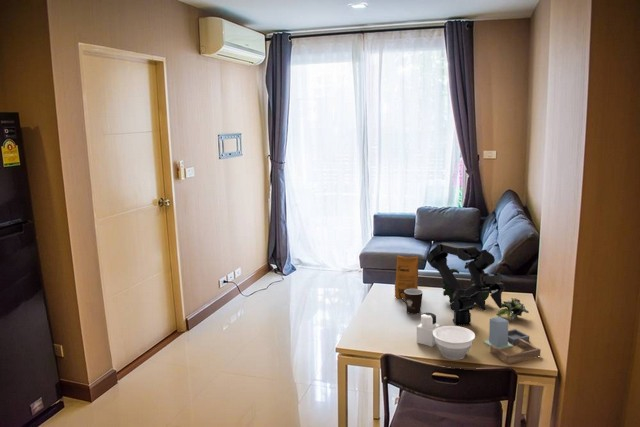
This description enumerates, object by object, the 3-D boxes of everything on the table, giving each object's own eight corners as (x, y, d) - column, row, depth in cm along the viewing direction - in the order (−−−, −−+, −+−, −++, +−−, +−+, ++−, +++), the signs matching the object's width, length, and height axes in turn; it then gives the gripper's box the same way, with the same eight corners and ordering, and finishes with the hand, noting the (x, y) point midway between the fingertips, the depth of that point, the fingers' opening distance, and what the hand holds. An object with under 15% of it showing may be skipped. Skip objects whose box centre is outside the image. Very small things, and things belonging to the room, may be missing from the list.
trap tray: (499, 336, 206) (500, 332, 205) (515, 333, 208) (515, 328, 208) (513, 344, 198) (513, 339, 198) (529, 341, 201) (529, 336, 200)
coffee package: (397, 292, 264) (396, 252, 260) (420, 295, 259) (420, 254, 255) (392, 298, 255) (392, 257, 251) (416, 301, 250) (416, 259, 246)
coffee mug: (426, 313, 234) (426, 292, 232) (410, 316, 231) (410, 295, 229) (413, 305, 245) (412, 285, 243) (397, 308, 242) (397, 288, 240)
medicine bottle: (424, 336, 208) (424, 309, 206) (440, 340, 204) (440, 313, 202) (416, 342, 203) (416, 315, 201) (432, 347, 199) (432, 318, 196)
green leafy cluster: (514, 327, 227) (532, 308, 224) (512, 332, 218) (530, 312, 215) (494, 310, 232) (511, 291, 228) (491, 314, 222) (508, 294, 219)
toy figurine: (443, 309, 243) (497, 308, 236) (440, 272, 240) (494, 269, 233) (444, 302, 252) (496, 301, 245) (441, 266, 249) (493, 264, 242)
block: (489, 341, 200) (489, 318, 198) (499, 339, 202) (499, 316, 200) (497, 346, 195) (498, 323, 194) (507, 344, 197) (508, 320, 195)
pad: (483, 342, 201) (483, 341, 201) (499, 339, 204) (499, 337, 203) (496, 350, 194) (496, 349, 193) (513, 346, 196) (513, 345, 196)
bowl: (426, 357, 190) (426, 337, 188) (440, 342, 203) (441, 322, 201) (467, 367, 181) (467, 346, 179) (480, 350, 194) (480, 330, 192)
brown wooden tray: (490, 352, 192) (490, 345, 192) (520, 345, 197) (520, 338, 196) (508, 364, 182) (508, 356, 182) (540, 356, 187) (540, 349, 187)
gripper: (474, 267, 197) (490, 304, 190) (506, 264, 206) (522, 299, 199) (457, 278, 205) (471, 314, 198) (488, 275, 214) (503, 309, 208)
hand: (493, 309), depth 201 cm, fingers open, 9 cm apart
